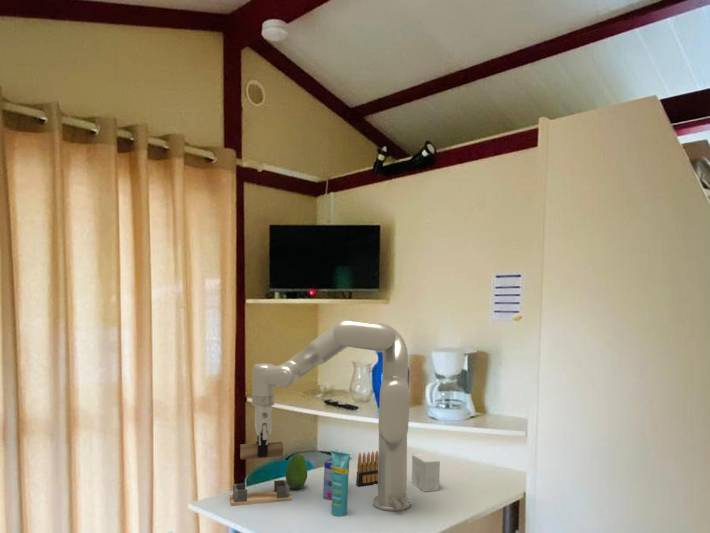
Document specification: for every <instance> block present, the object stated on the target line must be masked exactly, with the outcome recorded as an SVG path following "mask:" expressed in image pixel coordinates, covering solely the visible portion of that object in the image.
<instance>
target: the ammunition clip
mask: <svg viewBox="0 0 710 533" xmlns="http://www.w3.org/2000/svg"><path fill="white" fill-rule="evenodd" d="M378 454H379V450H376V451H375V453H374V451H373V450H371V455H370V451H368V452H367V454H366V452H365V451H364V452H363V454H361V452H359V454H358V456H357V471H356V481H355V486H356V487H357V488H362V487H368V486H374V484H376V485H378ZM366 455H367V456H366Z"/></svg>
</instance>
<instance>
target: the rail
mask: <svg viewBox="0 0 710 533" xmlns="http://www.w3.org/2000/svg"><path fill="white" fill-rule="evenodd" d="M273 484H274V485H273V491H272V490H270V491H261V492H260V491H259V492H250V493H248V489H246V483H244V482H243V483H234V484H232V494H230V495H229V501H230V506H233V505H234V506H244V505H243V504H245V505H253V503H254V504H263V503H274V502H275V503H276V502H283V501H285V502H286V501H292V500H293V497H292V494H291V492H290V487H289V485H288V483H287V481H286V479H281V480H274V482H273ZM234 506H233V507H234Z"/></svg>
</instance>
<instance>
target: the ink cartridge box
mask: <svg viewBox="0 0 710 533" xmlns="http://www.w3.org/2000/svg"><path fill="white" fill-rule="evenodd" d="M340 453H343V451H340ZM323 466H324V468H323V469H324V470H323V492H322V497H323V498H324V499H328V500H332V461H331V458H328V459H327V460H326V461H324V465H323Z"/></svg>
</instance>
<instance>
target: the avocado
mask: <svg viewBox="0 0 710 533" xmlns="http://www.w3.org/2000/svg"><path fill="white" fill-rule="evenodd" d="M285 480H286V481H287V483H288V485H289V489H294V490H299V489H301V488H302V487H304V485H305V484H306V482H307V480H308V467H307V463H306V459H305V457H304V455H303V454H300V453H296V454H294V455H292V457H291V458H290V460H289V461H288V464H287V466H286V470H285Z"/></svg>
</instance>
